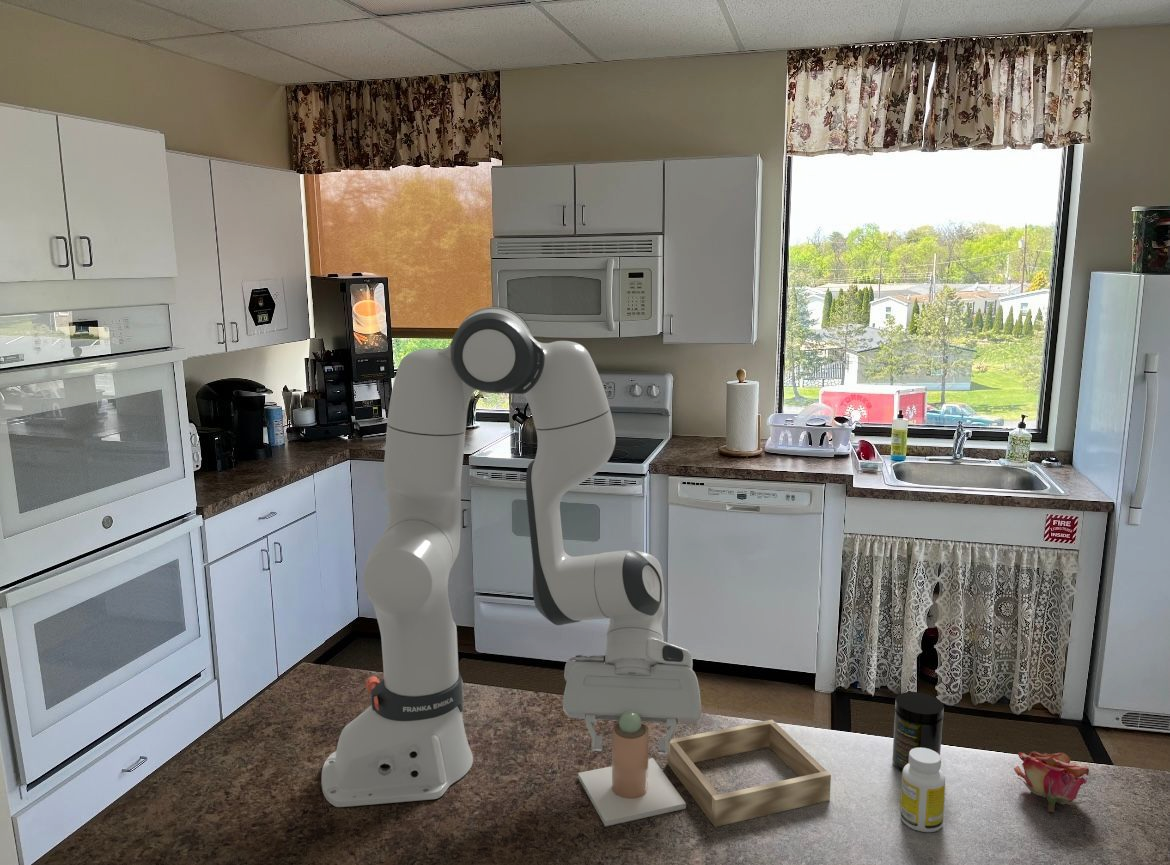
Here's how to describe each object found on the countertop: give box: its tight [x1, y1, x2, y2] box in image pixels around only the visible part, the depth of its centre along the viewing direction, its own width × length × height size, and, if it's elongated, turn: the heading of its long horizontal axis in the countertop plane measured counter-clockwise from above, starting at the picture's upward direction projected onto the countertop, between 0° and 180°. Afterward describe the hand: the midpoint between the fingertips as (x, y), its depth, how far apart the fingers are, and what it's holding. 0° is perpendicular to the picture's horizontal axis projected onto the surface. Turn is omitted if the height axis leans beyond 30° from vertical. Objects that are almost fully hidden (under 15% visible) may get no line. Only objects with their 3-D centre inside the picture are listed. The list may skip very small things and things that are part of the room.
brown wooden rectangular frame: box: [667, 719, 832, 828], centre depth 125 cm, size 18×16×4 cm
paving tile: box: [577, 757, 687, 827], centre depth 123 cm, size 12×12×1 cm
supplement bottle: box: [899, 748, 946, 833], centre depth 115 cm, size 5×5×10 cm
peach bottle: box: [611, 711, 650, 799], centre depth 122 cm, size 5×5×12 cm
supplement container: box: [892, 691, 945, 773], centre depth 128 cm, size 7×7×10 cm
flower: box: [1013, 750, 1091, 814], centre depth 119 cm, size 10×9×8 cm
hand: (629, 751), depth 121 cm, fingers open, 8 cm apart
